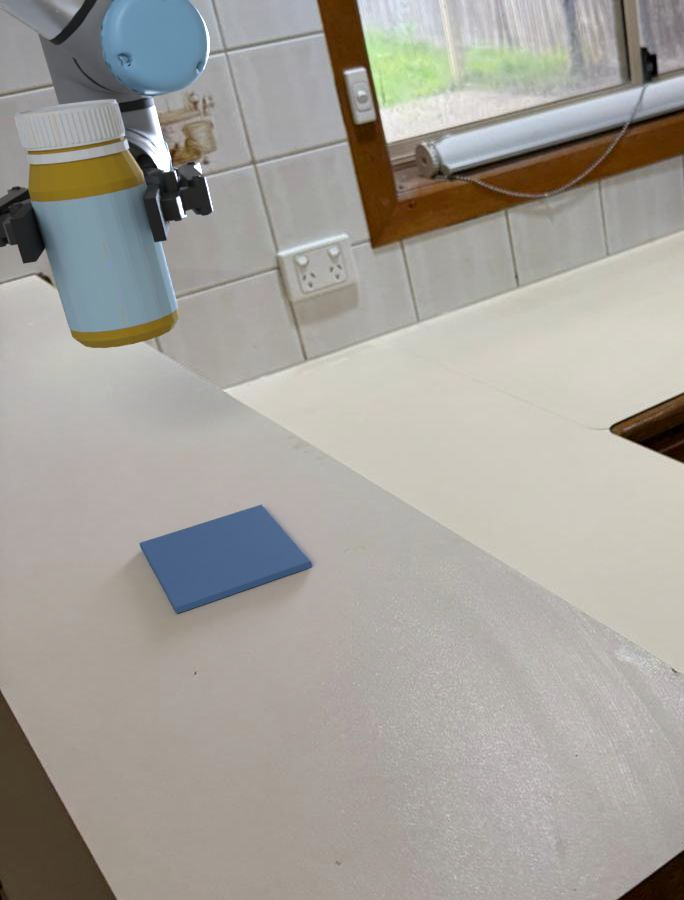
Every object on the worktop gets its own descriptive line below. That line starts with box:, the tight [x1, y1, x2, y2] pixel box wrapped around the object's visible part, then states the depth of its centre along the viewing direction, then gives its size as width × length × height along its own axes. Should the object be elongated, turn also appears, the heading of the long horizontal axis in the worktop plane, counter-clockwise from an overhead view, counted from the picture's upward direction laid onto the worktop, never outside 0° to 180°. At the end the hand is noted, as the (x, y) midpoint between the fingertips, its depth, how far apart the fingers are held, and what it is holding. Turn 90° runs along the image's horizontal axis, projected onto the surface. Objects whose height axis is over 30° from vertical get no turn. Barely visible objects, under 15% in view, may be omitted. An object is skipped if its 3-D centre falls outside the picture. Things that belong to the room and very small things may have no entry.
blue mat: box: [139, 504, 313, 615], centre depth 67 cm, size 10×8×1 cm
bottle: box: [13, 99, 180, 349], centre depth 75 cm, size 7×7×15 cm
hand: (90, 230), depth 70 cm, fingers closed on bottle, 7 cm apart
